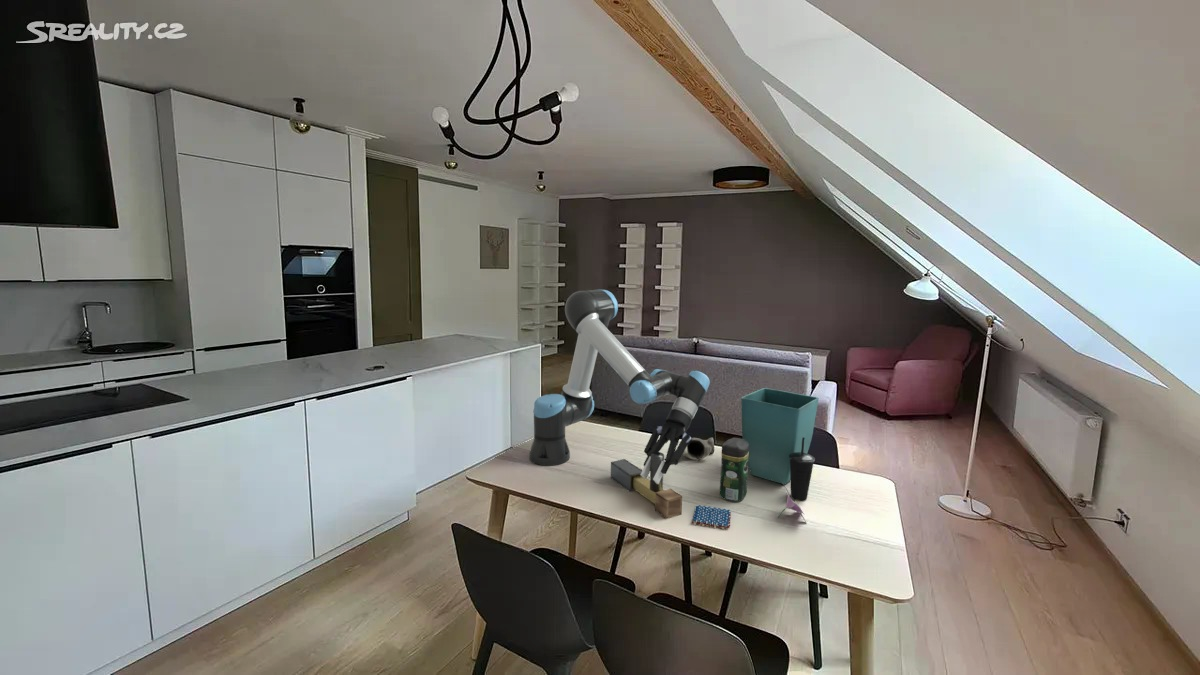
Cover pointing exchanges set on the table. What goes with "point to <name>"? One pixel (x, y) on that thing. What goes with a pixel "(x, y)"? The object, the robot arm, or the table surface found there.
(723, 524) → the woven mat
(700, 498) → the table surface
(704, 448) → the pipe
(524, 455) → the table surface
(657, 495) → the socket
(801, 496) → the drinking cup
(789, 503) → the lily
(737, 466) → the coffee jar
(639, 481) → the slide bolt with knob
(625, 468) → the sleeve
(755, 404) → the teal waste bin
